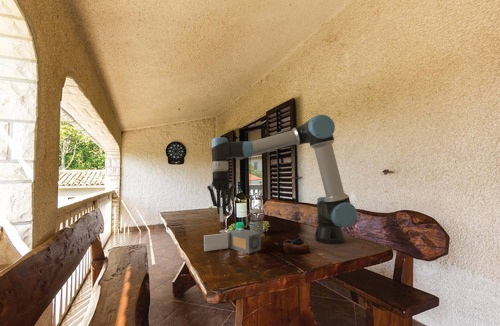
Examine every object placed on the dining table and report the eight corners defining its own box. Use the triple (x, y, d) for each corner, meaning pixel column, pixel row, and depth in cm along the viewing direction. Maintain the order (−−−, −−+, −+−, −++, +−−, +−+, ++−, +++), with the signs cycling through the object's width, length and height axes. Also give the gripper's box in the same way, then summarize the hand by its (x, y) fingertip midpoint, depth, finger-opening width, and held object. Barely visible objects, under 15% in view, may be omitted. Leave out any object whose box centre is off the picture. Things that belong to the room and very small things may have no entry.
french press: (259, 237, 137) (259, 193, 138) (242, 235, 143) (241, 192, 144) (267, 233, 145) (266, 192, 146) (250, 231, 151) (250, 191, 152)
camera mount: (253, 243, 127) (253, 223, 127) (239, 244, 125) (239, 224, 125) (247, 237, 138) (247, 219, 139) (234, 238, 136) (234, 220, 137)
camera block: (263, 250, 114) (262, 231, 114) (250, 254, 108) (250, 235, 109) (240, 244, 125) (240, 227, 125) (228, 247, 119) (228, 229, 119)
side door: (204, 251, 112) (204, 236, 113) (203, 250, 114) (203, 235, 115) (230, 247, 118) (230, 233, 118) (229, 246, 119) (229, 232, 120)
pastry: (280, 248, 118) (280, 236, 118) (304, 246, 119) (304, 234, 120) (286, 255, 107) (286, 242, 107) (312, 254, 109) (312, 241, 109)
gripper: (204, 171, 111) (206, 223, 110) (232, 170, 109) (234, 222, 108) (209, 171, 118) (210, 219, 117) (235, 170, 117) (237, 219, 116)
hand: (222, 221), depth 113 cm, fingers closed
